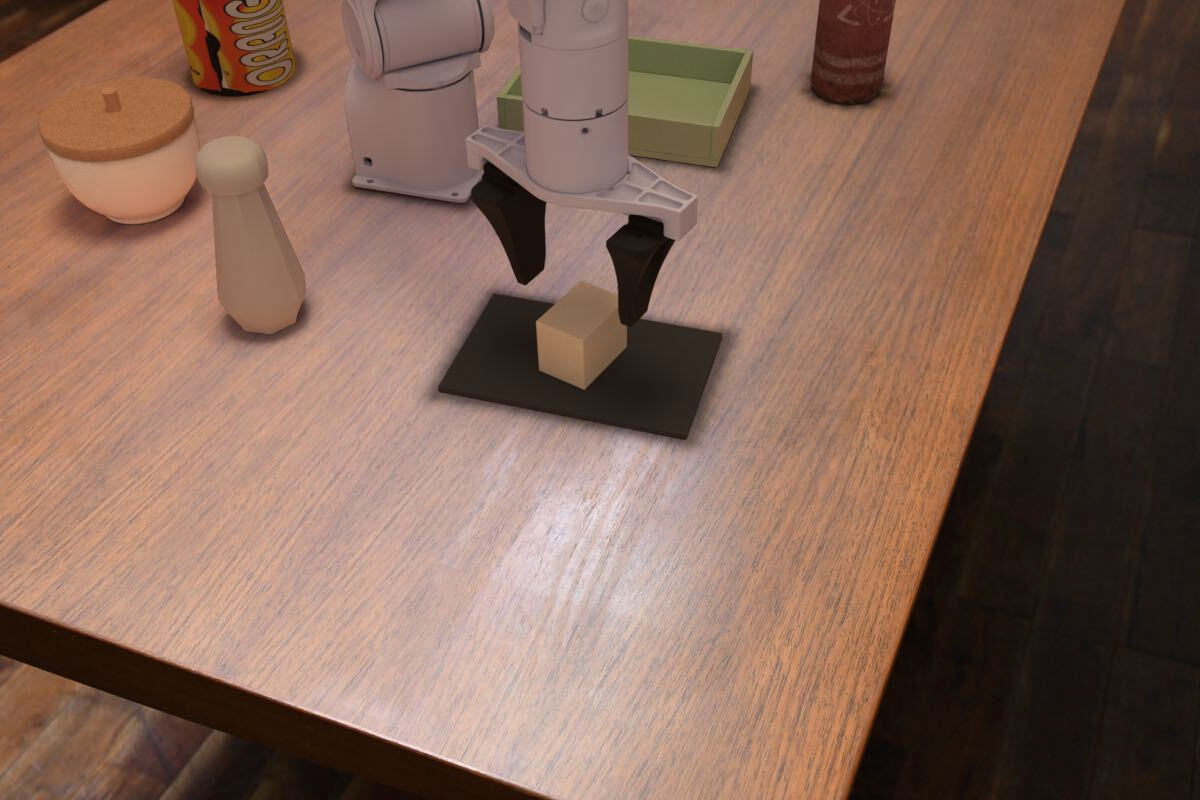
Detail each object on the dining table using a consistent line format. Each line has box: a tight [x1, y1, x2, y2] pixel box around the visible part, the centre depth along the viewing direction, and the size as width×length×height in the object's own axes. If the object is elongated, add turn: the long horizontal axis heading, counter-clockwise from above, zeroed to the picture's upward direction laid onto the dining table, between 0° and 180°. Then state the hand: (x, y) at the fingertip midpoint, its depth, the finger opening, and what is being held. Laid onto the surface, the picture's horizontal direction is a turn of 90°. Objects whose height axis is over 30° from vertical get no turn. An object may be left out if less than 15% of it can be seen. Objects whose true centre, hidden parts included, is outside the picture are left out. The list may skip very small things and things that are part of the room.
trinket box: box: [37, 76, 201, 225], centre depth 89 cm, size 11×11×9 cm
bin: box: [496, 34, 754, 168], centre depth 101 cm, size 18×13×4 cm
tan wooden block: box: [536, 280, 627, 390], centre depth 76 cm, size 4×5×4 cm
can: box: [810, 0, 897, 105], centre depth 100 cm, size 6×6×14 cm
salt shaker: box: [195, 134, 307, 335], centre depth 78 cm, size 6×6×13 cm
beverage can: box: [171, 0, 296, 97], centre depth 104 cm, size 9×9×12 cm
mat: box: [437, 292, 723, 440], centre depth 78 cm, size 16×10×1 cm, turn 73°
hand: (581, 296), depth 74 cm, fingers open, 7 cm apart
